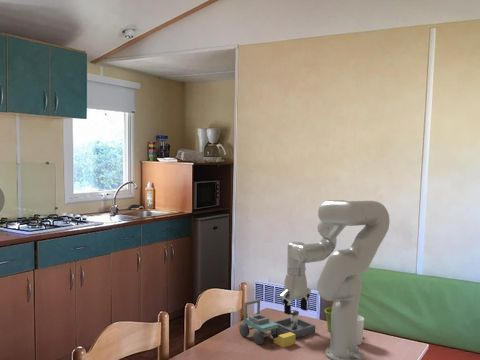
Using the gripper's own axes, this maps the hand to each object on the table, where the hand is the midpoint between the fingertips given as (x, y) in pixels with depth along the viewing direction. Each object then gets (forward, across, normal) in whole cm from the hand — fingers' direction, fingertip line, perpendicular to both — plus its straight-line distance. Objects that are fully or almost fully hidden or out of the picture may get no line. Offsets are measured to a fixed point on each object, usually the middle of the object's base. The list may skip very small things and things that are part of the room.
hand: (295, 311), depth 190 cm
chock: (+9, +12, +6) cm, 16 cm away
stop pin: (+8, 0, -2) cm, 8 cm away
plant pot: (+9, -15, +8) cm, 20 cm away
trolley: (+8, +17, -4) cm, 19 cm away
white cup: (+10, -12, +20) cm, 26 cm away
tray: (+8, 0, -2) cm, 8 cm away
